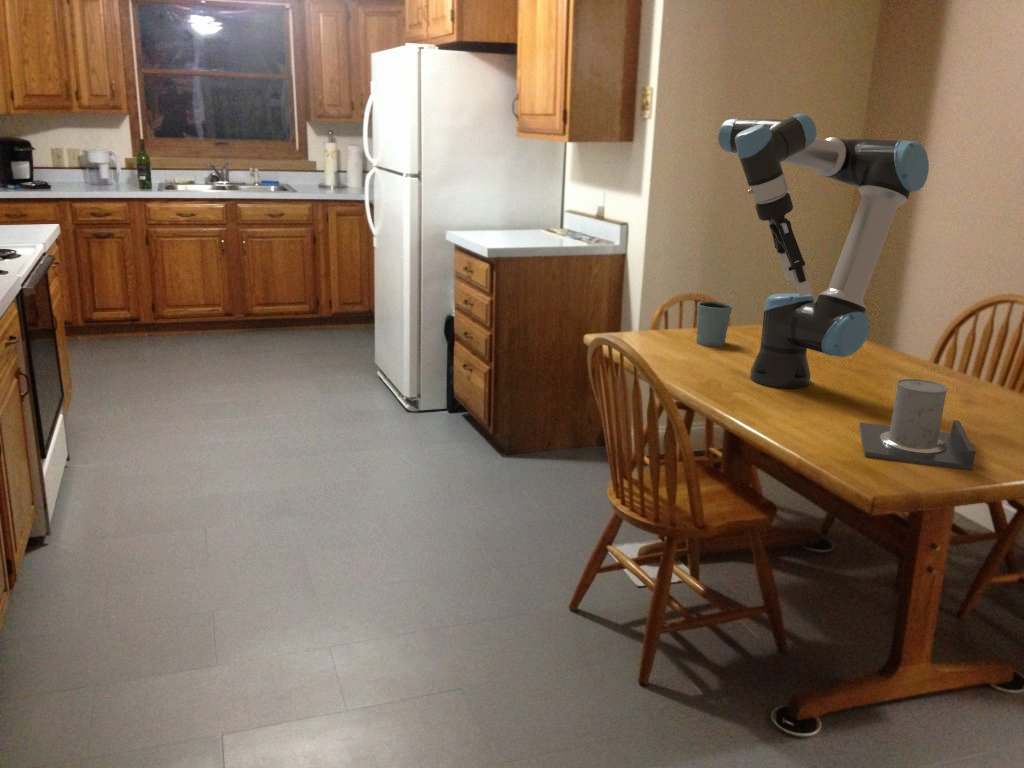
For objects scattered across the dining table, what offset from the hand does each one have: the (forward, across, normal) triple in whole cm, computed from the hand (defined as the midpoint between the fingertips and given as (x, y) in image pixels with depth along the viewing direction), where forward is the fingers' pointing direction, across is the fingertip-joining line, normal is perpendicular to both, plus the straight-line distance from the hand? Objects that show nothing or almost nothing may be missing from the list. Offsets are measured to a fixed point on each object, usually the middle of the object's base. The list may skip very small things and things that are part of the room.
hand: (799, 286), depth 199 cm
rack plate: (+35, +21, +10) cm, 42 cm away
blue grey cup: (+29, -64, -22) cm, 74 cm away
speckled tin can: (+34, +21, +10) cm, 41 cm away
